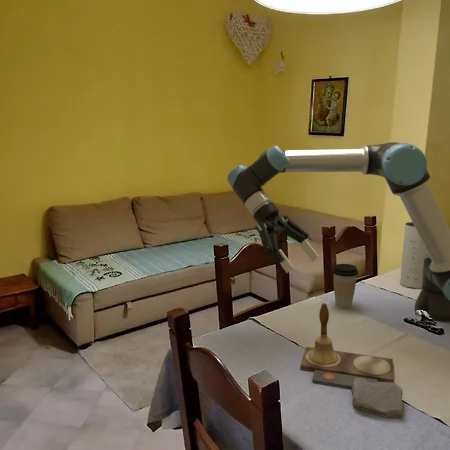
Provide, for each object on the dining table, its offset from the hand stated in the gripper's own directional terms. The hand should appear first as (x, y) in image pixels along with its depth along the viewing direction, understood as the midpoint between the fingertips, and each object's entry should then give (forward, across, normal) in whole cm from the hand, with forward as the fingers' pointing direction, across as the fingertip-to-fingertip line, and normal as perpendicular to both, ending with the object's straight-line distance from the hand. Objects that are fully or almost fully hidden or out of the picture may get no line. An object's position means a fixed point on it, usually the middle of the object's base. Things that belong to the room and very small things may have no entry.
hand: (303, 264), depth 132 cm
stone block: (+40, +15, +3) cm, 42 cm away
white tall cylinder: (+24, -73, -14) cm, 78 cm away
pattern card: (+32, +11, -4) cm, 34 cm away
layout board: (+30, +3, -6) cm, 30 cm away
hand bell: (+24, +6, -10) cm, 27 cm away
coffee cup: (+15, -34, -21) cm, 43 cm away
